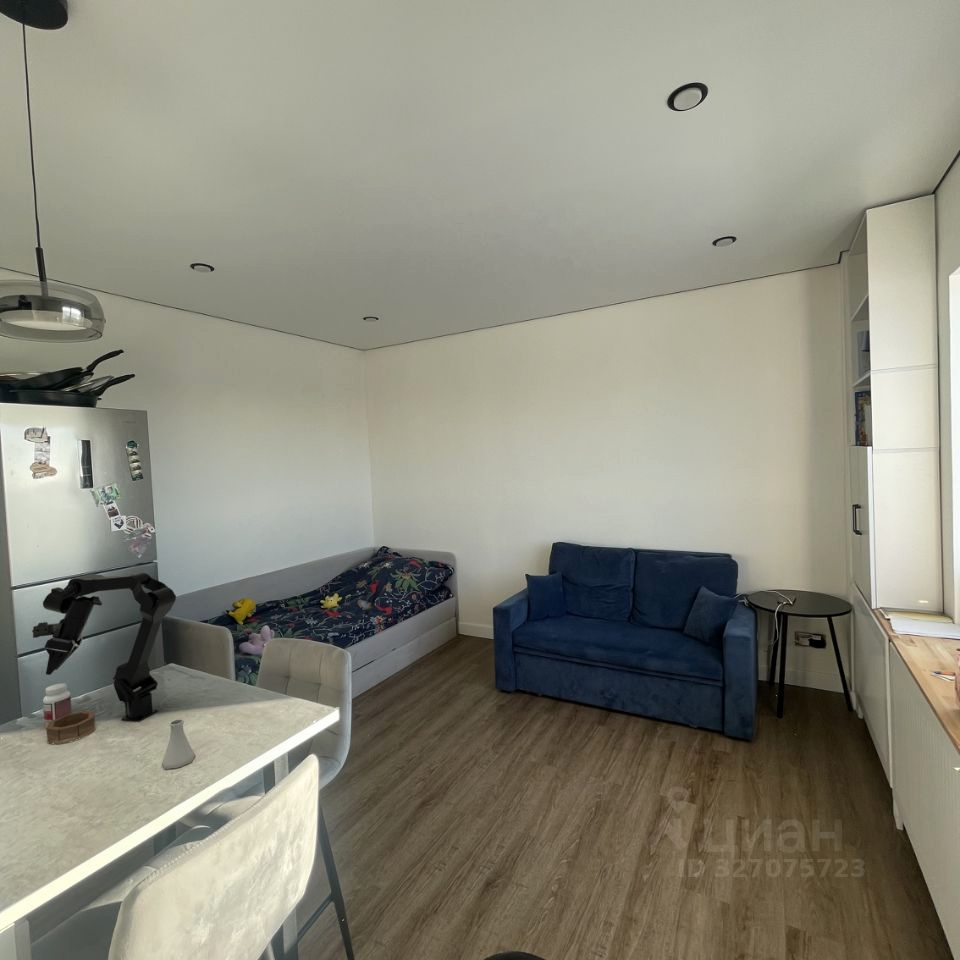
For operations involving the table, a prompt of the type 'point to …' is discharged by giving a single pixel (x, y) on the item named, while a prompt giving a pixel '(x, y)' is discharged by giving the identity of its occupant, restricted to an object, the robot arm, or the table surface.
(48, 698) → the pill bottle
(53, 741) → the bottle holder
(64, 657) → the robot arm
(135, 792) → the table surface
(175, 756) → the flask
